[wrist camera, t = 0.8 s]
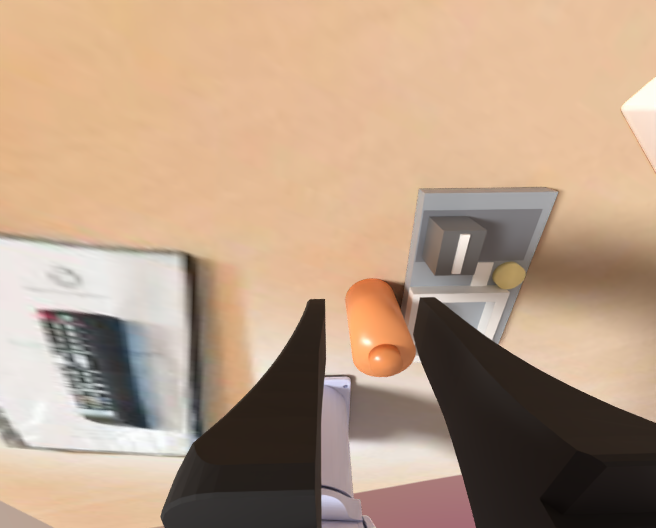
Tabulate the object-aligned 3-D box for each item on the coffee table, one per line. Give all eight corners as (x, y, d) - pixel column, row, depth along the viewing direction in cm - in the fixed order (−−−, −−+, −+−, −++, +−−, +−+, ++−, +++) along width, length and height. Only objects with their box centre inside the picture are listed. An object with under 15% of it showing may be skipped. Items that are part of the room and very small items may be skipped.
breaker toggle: (457, 256, 20) (475, 276, 17) (421, 257, 19) (435, 277, 17) (467, 215, 18) (488, 231, 16) (429, 216, 18) (445, 232, 16)
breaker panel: (488, 341, 25) (501, 360, 23) (395, 343, 25) (401, 362, 23) (544, 187, 18) (571, 195, 17) (419, 188, 18) (430, 197, 16)
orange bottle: (391, 317, 24) (414, 386, 18) (345, 318, 24) (352, 388, 18) (396, 278, 22) (424, 340, 16) (346, 278, 22) (355, 341, 16)
